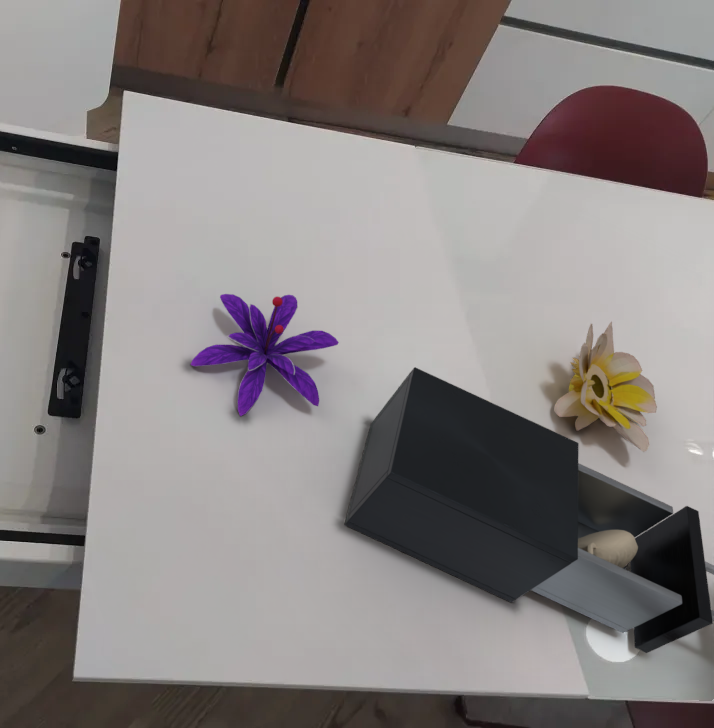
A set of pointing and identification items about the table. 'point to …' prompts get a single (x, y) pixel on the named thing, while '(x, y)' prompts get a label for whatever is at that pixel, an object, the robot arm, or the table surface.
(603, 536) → the decorative ornament
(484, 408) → the cabinet
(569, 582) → the drawer with silver handle
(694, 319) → the table surface
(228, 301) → the decorative flower
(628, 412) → the decorative flower
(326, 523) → the table surface
